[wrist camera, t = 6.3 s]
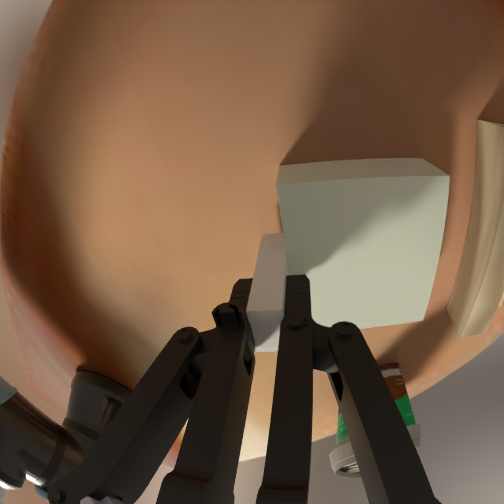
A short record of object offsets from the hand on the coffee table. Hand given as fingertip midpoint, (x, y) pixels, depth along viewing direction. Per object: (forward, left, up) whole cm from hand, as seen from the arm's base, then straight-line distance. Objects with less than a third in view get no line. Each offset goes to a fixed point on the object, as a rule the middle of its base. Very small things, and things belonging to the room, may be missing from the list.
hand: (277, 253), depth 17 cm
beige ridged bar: (+18, 0, -2) cm, 18 cm away
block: (+5, 0, -2) cm, 6 cm away
